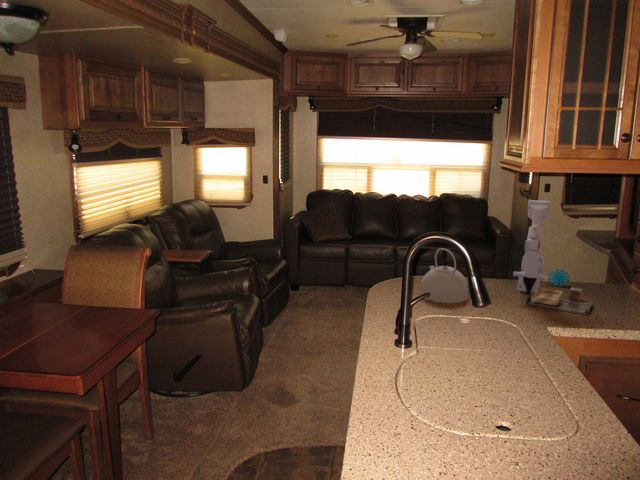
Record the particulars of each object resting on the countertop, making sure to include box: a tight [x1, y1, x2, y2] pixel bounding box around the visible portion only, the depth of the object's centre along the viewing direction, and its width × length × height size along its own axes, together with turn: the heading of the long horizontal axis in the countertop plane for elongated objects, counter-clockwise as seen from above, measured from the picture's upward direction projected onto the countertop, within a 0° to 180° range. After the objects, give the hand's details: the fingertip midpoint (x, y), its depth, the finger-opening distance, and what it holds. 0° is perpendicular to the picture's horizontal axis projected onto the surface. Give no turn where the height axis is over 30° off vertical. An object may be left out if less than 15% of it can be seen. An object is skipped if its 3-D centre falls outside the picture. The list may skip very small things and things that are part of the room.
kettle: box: [419, 247, 470, 304], centre depth 242 cm, size 25×23×22 cm
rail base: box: [525, 292, 593, 316], centre depth 231 cm, size 25×16×2 cm, turn 57°
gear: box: [547, 268, 573, 287], centre depth 262 cm, size 11×6×10 cm
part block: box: [568, 287, 583, 302], centre depth 238 cm, size 4×4×5 cm
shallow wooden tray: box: [531, 287, 564, 306], centre depth 233 cm, size 11×16×3 cm
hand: (528, 293), depth 237 cm, fingers closed
